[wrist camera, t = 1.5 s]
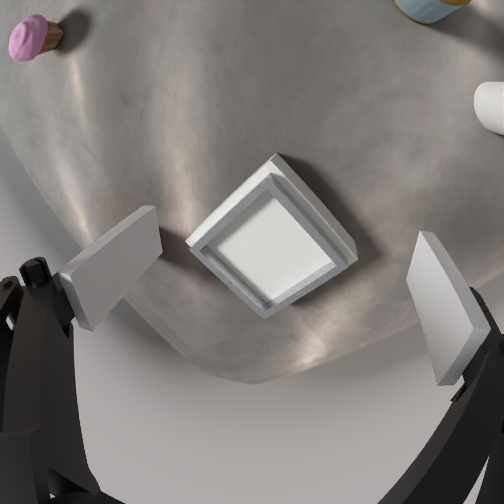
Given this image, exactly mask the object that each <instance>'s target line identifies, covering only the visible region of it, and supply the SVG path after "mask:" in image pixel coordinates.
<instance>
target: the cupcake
mask: <svg viewBox="0 0 504 504" xmlns="http://www.w3.org/2000/svg"><path fill="white" fill-rule="evenodd" d="M62 36H63V30H62V29H61V28H60V27H59V26H58V25H57V24H56V23H54V22H50V21H47V20H46V19H45V18H44V17H43V16H41V15H30V16H28V17H27V18H25V19H24V20H23V21H21V22H20V23H19V24H18V25H17V26H16V28H15V29H14V30H13V32H12V34H11V37H10V44H9V53H10V56H11V57H12V58H13V59H14V60H16V61H30V60H32V59H34V58H35V56H37V55H39V54H42V53H45V52H48V51H51V50H53V49H54V48H55V47H56V45H57V44H58V42H59V41H60V40H61V38H62Z"/></svg>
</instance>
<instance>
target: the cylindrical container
mask: <svg viewBox="0 0 504 504" xmlns="http://www.w3.org/2000/svg"><path fill="white" fill-rule="evenodd" d="M474 107H475V111H476V114H477V117H478V119H479V121H480V122H481V124H482V125H483V126H484V127H485V128H486V129H488V130H489V131H491V132H495V133H498V134H501V135H504V82H485V83H482V84H481V85H479V87H478V88H477V90H476V92H475V96H474Z"/></svg>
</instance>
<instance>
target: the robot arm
mask: <svg viewBox="0 0 504 504" xmlns="http://www.w3.org/2000/svg"><path fill="white" fill-rule="evenodd" d="M162 252H163V251H162V246H161V239H160V233H159V227H158V220H157V213H156V206H142V207H141V208H139V209H138V210H136V211H135V212H134V213H132V214H131V215H129V216H128V217H127V218H125V219H124V220H122V221H121V222H120V223H118V224H117V225H116V226H114V227H113V228H112V229H110V230H109V231H108V232H106V233H105V234H104V235H102V236H101V237H100V238H98V239H97V240H96V241H95V242H93V243H92V244H91V245H89V246H88V247H87V248H86V249H84V250H83V251H82V252H81V253H79V254H78V255H77V256H76V257H75V258H73V259H72V260H71V261H70V262H69V263H67V264H66V265H65V266H64V267H63V268H61V269H60V270H59V271H58V272H57V273H56V274H54V275H53V276H51V273H50V270H49V268H48V265H47V262H46V259H45V258H43V257H36V258H33V259H30V260H28V261H27V262H25V263H24V264H23V265H22V266H21V267H20V268H19V270H20V273H21V276H22V278H23V280H24V283H25V285H26V286H21V285H20V282H19V280H18V278H17V277H16V276H10V277H6V278H4V279H3V280H2V281H1V282H0V504H125V503H123V502H121V501H119V500H117V499H115V498H113V497H111V496H109V495H107V494H105V493H103V492H102V491H101V490H100V487H99V485H98V483H97V481H96V479H95V477H94V476H93V474H92V473H91V471H90V469H89V467H88V464H87V459H86V455H85V450H84V445H83V439H82V433H81V426H80V420H79V412H78V404H77V394H76V383H75V368H74V344H73V343H74V337H73V329H74V328H73V325H72V323H71V320H72V319H73V318H74V317H76V319H77V321H78V323H79V326H80V327H81V328H84V329H87V330H90V331H92V332H93V331H94V329H95V328H96V327H97V326H98V325H99V323H100V322H101V321H102V319H104V317H105V316H106V315H107V314H108V313H109V312H110V310H111V309H112V308H113V307H114V306H115V305H116V303H117V302H118V301H119V300H120V299H121V298H122V297H123V295H124V294H125V293H126V292H127V291H128V290H129V289H130V287H131V286H132V285H133V284H134V283H135V282H136V281H137V280H138V279H139V277H140V276H141V275H142V274H143V273H144V272H145V271H146V270H147V269H148V268H149V266H150V265H151V264H152V263H153V262H154V261H155V260H156V259H157V258H158V257H159V256H160V255H161V254H162ZM406 281H407V284H408V287H409V289H410V292H411V295H412V298H413V301H414V304H415V307H416V310H417V313H418V316H419V319H420V322H421V325H422V329H423V332H424V336H425V339H426V342H427V346H428V349H429V353H430V357H431V361H432V365H433V369H434V373H435V378H436V382H437V385H438V386H444V385H454V384H455V383H456V382H457V380H458V379H459V378H460V376H461V375H463V378H464V382H465V383H464V384H463V385H462V387H461V388H460V389H459V390H458V392H457V393H456V394H455V395H454V397H453V398H452V399H451V401H452V404H451V406H450V407H449V409H448V411H447V413H446V414H445V416H444V418H443V419H442V421H441V422H440V424H439V426H438V427H437V429H436V431H435V432H434V433H433V435H432V436H431V438H430V439H429V441H428V442H427V444H426V445H425V447H424V448H423V449H422V451H421V452H420V454H419V455H418V456H417V458H416V459H415V460H414V462H413V463H412V464H411V465H410V467H409V468H408V469H407V470H406V472H405V473H404V474H403V476H402V477H401V478H400V479H399V480H398V482H397V483H396V484H395V485H394V486H393V487H392V488H391V489H390V491H389V492H388V493H387V494H386V495H385V496H384V497H383V498H382V499H381V500H380V501H379V502H378V504H463V503H464V501H465V500H466V498H467V496H468V495H469V493H470V491H471V489H472V488H473V486H474V484H475V482H476V480H477V478H478V477H479V475H480V473H481V471H482V469H483V467H484V465H485V463H486V461H487V458H488V457H489V460H488V464H487V468H486V471H485V475H484V478H483V482H482V485H481V488H480V491H479V494H478V497H477V500H476V503H475V504H504V334H501V332H500V330H499V328H498V326H497V324H496V323H495V320H494V319H493V317H492V315H491V313H490V312H489V309H488V307H487V306H486V305H485V302H484V300H483V299H482V297H481V295H480V294H479V293H478V292H477V291H476V290H475V289H474V288H473V287H468V285H467V283H466V282H465V280H464V278H463V277H462V275H461V273H460V272H459V270H458V269H457V267H456V265H455V264H454V262H453V261H452V259H451V258H450V256H449V255H448V253H447V252H446V250H445V249H444V247H443V246H442V244H441V243H440V241H439V240H438V238H437V237H436V236H435V234H434V233H433V232H426V231H419V235H418V239H417V243H416V247H415V251H414V254H413V258H412V261H411V265H410V268H409V271H408V275H407V278H406ZM7 316H8V317H9V318H10V320H11V322H12V324H13V329H12V330H11V329H10V328H9V326H8V324H7V322H6V319H7ZM489 454H490V455H489ZM50 494H52V495H54V496H55V497H54V498H50Z"/></svg>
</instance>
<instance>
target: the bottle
mask: <svg viewBox="0 0 504 504" xmlns="http://www.w3.org/2000/svg"><path fill="white" fill-rule="evenodd" d="M470 1H471V0H393V2H394V4H395V5H396V7H397V8H398V9H399V10H400V11H401V12H402V13H403V14H404V15H405V16H407V17H408V18H410V19H412V20H414V21H416V22H419V23H423V24H429V23H434V22H436V21H438V20H440V19H441V18H443V17H445V16H446V15H448V14H450V13H451V12H453V11H455V10H457V9H458V8H460V7H462V6H464V5H466V4H467V3H469V2H470Z"/></svg>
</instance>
